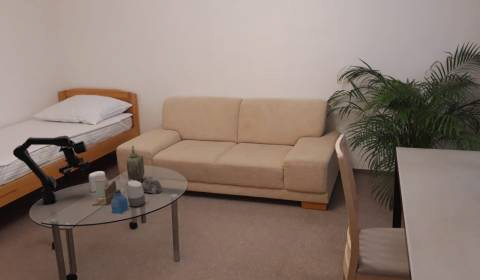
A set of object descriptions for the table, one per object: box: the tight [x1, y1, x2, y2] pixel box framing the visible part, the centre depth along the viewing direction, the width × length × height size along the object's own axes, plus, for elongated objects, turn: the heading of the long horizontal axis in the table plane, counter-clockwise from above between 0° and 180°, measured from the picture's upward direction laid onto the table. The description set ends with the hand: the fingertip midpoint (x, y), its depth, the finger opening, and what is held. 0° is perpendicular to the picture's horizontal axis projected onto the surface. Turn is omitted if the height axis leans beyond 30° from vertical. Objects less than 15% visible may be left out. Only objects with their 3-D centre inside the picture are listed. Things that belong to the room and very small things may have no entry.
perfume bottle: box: [110, 188, 129, 214], centre depth 238 cm, size 6×6×12 cm
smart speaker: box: [127, 179, 146, 208], centre depth 245 cm, size 10×9×14 cm
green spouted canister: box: [125, 145, 145, 181], centre depth 282 cm, size 14×9×25 cm, turn 6°
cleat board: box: [91, 180, 117, 206], centre depth 254 cm, size 10×14×10 cm
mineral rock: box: [141, 176, 163, 195], centre depth 265 cm, size 13×11×10 cm
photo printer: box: [88, 170, 107, 193], centre depth 273 cm, size 10×4×12 cm, turn 124°
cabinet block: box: [95, 177, 109, 201], centre depth 254 cm, size 6×6×12 cm
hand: (79, 180), depth 259 cm, fingers open, 9 cm apart
